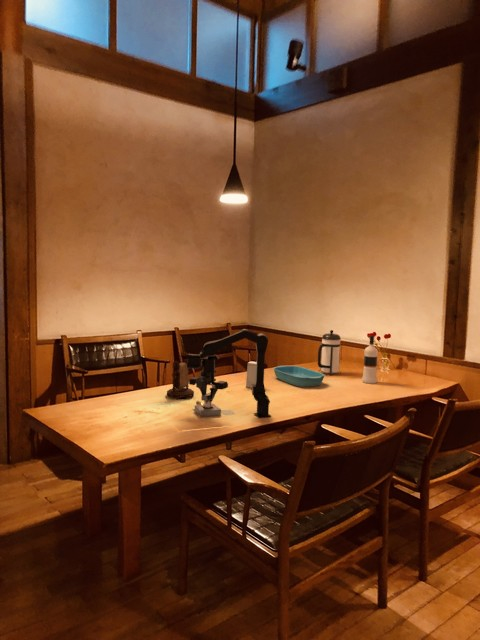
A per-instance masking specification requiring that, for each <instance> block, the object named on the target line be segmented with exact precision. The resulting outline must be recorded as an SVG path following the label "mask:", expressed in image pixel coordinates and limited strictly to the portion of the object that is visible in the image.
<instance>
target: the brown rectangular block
mask: <svg viewBox="0 0 480 640" xmlns="http://www.w3.org/2000/svg"><path fill="white" fill-rule="evenodd" d="M210 395H211V391H210V392H206V394H205V395H202V394H201V399H200V401H203V404H204V409H211V405H212V404H213V403H212V402H213V401H210Z"/></svg>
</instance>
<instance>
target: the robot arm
mask: <svg viewBox="0 0 480 640" xmlns="http://www.w3.org/2000/svg"><path fill="white" fill-rule="evenodd" d="M244 339H245V340H246V339H247V340H248V341H250V342H252V343H255V348H256V362H257V364H256V382H255V384H252V388H251V389H252V390H251V396H253V400H255V402H256V412H254V413H253V415H254V416H255V417H258V418H259V419H260V418H270V417H272V415H271V414H269V413H270V412H269V411H270V410H269V409H270V408H269V407H270V403H271V401H270V398H269V396H268V395H267V394H266V389H265V388H266V387H265V382H264V381H265V361H266V360H265V359H266V357H265V356H266V352H267V349H268V343H269V338H268V337H267V336H266V334H264V333H262V332H261V333H256V332H254V331H251V330H249V329H246V328H243V329H241V330H240V331H237V332H235V333H232V334H230V335H227V336H226V337H222V338H220V339H217V340H215V339H214V340H212V341H207V342H205V343H204V345H203V348H202V350H201V351H200V352H199V353H198V354H193V353H188V354H187V368H189V369H200V367H202V370H201V372H200V375H198V376H194V377H191V378H189V384H188V385H191V386H195V385H196V386H195V387H196V388H198V390H200V393H201V396H202V395H205V394H207V393H208V391H207V390H208V389H207V388H208V386H211V387H210V388H209V390H210V392H211V395H210V401H212V402H213V401H214V399H215V396H216V394H217V392H218V390H225V389H227V388H228V387H229V383H228V382H227V380H226V381H225V380H219V381H216V380H217V379H216V378H215V373H217V370H216V369H215V368H216V367H215V366H216V363H215V362H216V361H219V359H220V358H219V356H218V355H217V354H216V353H217V352H219V351H220V350H221V349H224V348H225V347H227V346H229V345H230V346H231V345H233V344H235V343H237V342H240V341H242V340H244Z"/></svg>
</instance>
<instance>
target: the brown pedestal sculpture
mask: <svg viewBox="0 0 480 640" xmlns="http://www.w3.org/2000/svg"><path fill="white" fill-rule="evenodd" d="M187 361H188V359H183V360H182V362H179V361H177V360H174V361H173V363H172V374H171V376H172V382H171V385H172V388H169V389H168V390H167V391H166V396H168V397H174V398H178V400H181V398H188V397H194V396H195V391H194V390H192V389H191V388H189V387H190V386H189V385H190V384H189V380H190V378H189V374H190V368H187ZM178 376H179V378H177V377H178Z"/></svg>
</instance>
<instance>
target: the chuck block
mask: <svg viewBox="0 0 480 640" xmlns="http://www.w3.org/2000/svg"><path fill="white" fill-rule="evenodd" d="M221 410H222V409H221V408H220V407H218V406H217V405H216V404H214V403H212V405H211V409H204V403H203V402H201V400H197V401H196V402H195V405H194V408H192V411H193V412H194V413H195V414H197V415H198V416H199V417H200V418H210V417H220V416H222V412H221Z"/></svg>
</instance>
